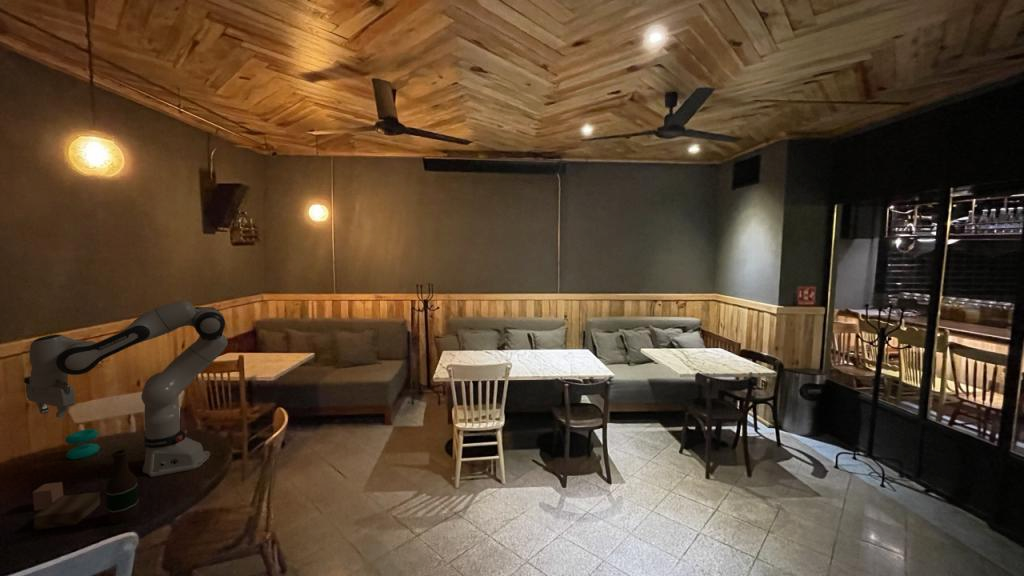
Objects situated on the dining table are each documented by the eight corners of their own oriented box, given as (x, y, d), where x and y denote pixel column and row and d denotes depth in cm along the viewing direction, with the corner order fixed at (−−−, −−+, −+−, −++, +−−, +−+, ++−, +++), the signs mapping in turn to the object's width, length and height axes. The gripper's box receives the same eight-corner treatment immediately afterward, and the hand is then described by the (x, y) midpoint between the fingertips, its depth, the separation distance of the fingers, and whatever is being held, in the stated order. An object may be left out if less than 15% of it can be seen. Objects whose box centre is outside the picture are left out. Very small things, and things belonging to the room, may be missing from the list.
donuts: (101, 431, 176) (68, 440, 167) (102, 453, 177) (70, 463, 168) (94, 426, 181) (62, 434, 173) (96, 446, 182) (64, 455, 174)
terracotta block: (63, 499, 145) (62, 481, 144) (52, 508, 140) (51, 490, 140) (46, 501, 144) (44, 483, 143) (34, 510, 139) (32, 492, 138)
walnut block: (100, 504, 144) (99, 492, 143) (76, 525, 133) (75, 511, 132) (62, 509, 141) (61, 496, 140) (34, 530, 130) (33, 516, 129)
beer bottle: (122, 509, 141) (117, 446, 138) (145, 509, 141) (141, 445, 139) (101, 525, 133) (96, 457, 131) (126, 524, 134) (121, 457, 131)
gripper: (80, 379, 145) (82, 415, 147) (44, 373, 151) (46, 407, 152) (56, 385, 139) (59, 422, 141) (20, 378, 145) (22, 414, 146)
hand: (52, 414), depth 146 cm, fingers open, 8 cm apart
